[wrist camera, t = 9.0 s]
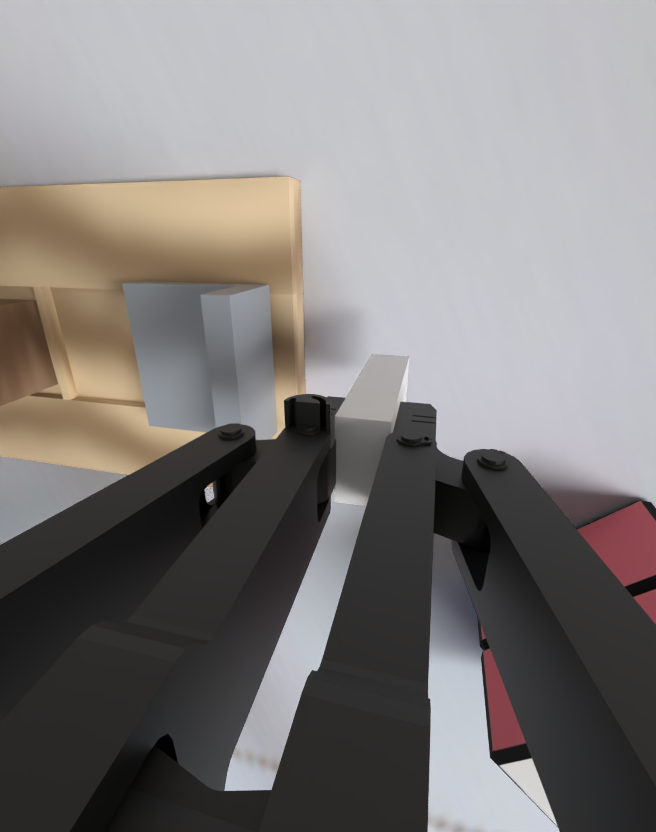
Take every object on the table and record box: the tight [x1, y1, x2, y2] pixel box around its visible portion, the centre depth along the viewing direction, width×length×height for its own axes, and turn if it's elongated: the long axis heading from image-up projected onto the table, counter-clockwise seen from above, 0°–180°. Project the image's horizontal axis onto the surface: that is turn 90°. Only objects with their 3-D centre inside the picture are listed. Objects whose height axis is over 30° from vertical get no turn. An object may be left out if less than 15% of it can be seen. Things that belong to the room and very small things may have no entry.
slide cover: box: [122, 281, 277, 440], centre depth 20 cm, size 7×7×4 cm
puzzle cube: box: [477, 501, 656, 827], centre depth 19 cm, size 10×10×10 cm
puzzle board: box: [0, 177, 306, 487], centre depth 24 cm, size 16×25×2 cm, turn 90°
